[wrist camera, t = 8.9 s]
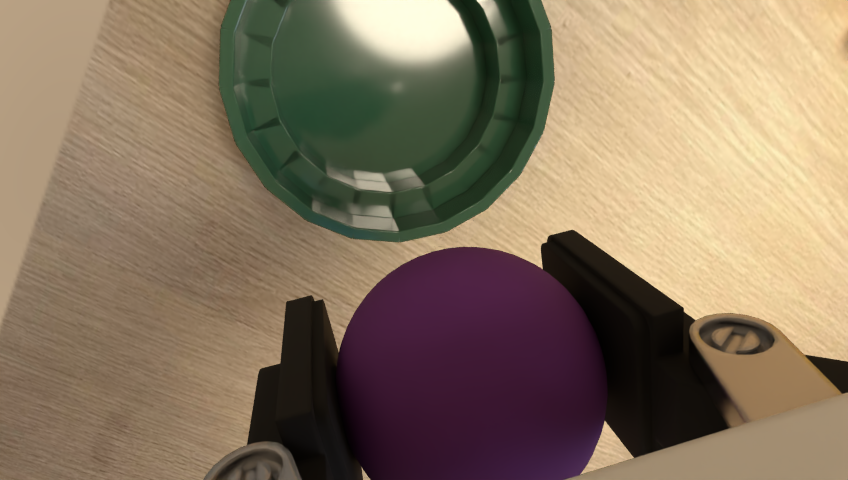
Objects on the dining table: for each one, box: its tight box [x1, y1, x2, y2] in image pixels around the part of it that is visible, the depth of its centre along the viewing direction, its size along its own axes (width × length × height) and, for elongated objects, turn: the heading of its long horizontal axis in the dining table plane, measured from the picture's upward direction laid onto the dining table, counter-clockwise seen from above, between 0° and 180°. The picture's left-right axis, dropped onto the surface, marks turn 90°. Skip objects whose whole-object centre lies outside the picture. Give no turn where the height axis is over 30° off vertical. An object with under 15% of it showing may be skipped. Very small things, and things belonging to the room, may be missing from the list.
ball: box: [336, 247, 608, 480], centre depth 10 cm, size 5×5×5 cm
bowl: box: [219, 0, 555, 242], centre depth 26 cm, size 15×15×5 cm
